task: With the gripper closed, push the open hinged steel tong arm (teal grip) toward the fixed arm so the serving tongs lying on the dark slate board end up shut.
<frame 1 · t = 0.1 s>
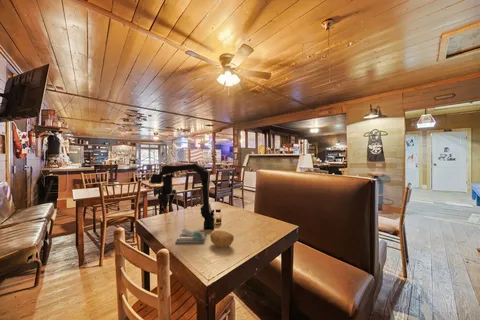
hand: (167, 206, 125), 15 cm above the table, fingers open, 9 cm apart
tong arm: (193, 232, 110), point 4 cm above the table, hinge at -26.0°
slate board: (191, 239, 109), on the table
potato: (221, 246, 102), on the table
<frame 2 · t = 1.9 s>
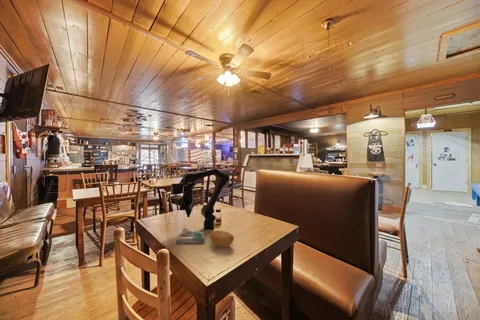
hand: (188, 217, 118), 10 cm above the table, fingers closed
nothing on the table moved.
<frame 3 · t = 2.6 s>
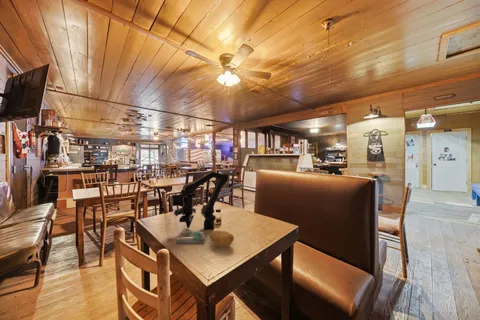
hand: (188, 228, 118), 3 cm above the table, fingers closed
nothing on the table moved.
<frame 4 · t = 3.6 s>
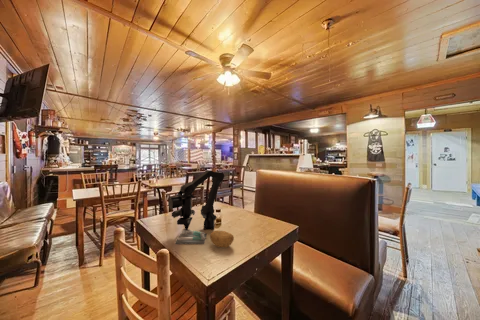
hand: (186, 230, 115), 3 cm above the table, fingers closed
tong arm: (193, 232, 110), point 4 cm above the table, hinge at -25.1°, touching gripper
everything else where it was.
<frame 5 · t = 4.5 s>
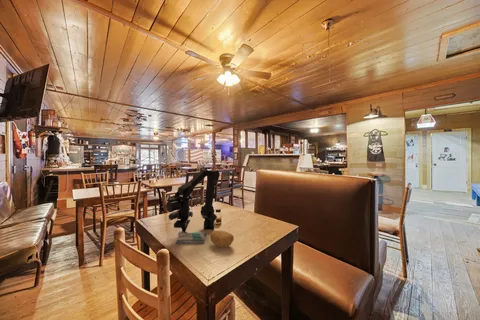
hand: (183, 233, 111), 3 cm above the table, fingers closed
tong arm: (191, 233, 108), point 4 cm above the table, hinge at -7.7°, touching gripper
everything else where it was.
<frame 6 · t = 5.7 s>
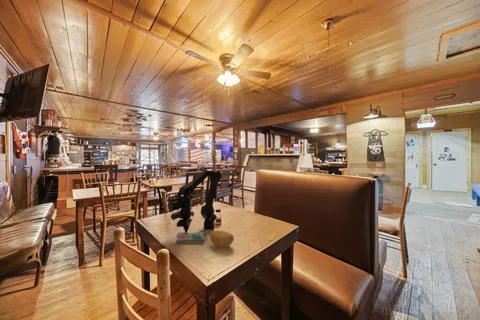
hand: (186, 232, 113), 3 cm above the table, fingers closed
tong arm: (191, 234, 107), point 4 cm above the table, hinge at -1.4°
everything else where it was.
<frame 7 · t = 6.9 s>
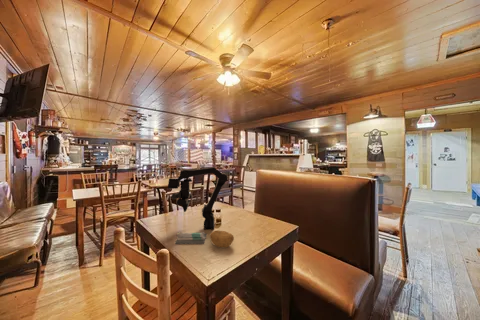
hand: (185, 211, 123), 12 cm above the table, fingers closed
nothing on the table moved.
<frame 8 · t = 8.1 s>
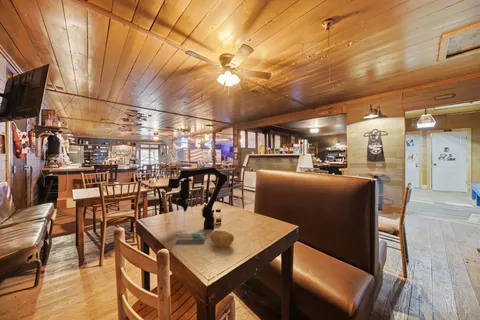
hand: (185, 211, 123), 12 cm above the table, fingers closed
nothing on the table moved.
at the end: tong arm at -1° (first picture: -26°); tong arm touching nothing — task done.
